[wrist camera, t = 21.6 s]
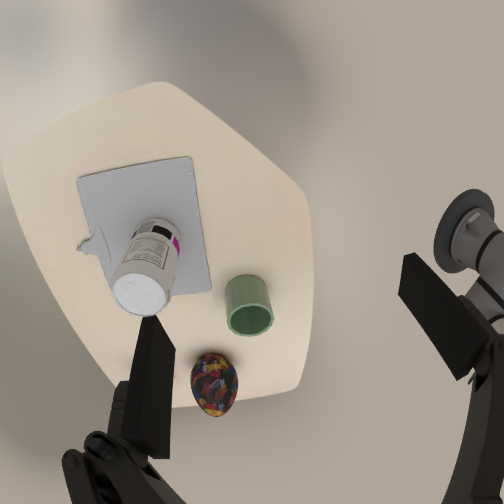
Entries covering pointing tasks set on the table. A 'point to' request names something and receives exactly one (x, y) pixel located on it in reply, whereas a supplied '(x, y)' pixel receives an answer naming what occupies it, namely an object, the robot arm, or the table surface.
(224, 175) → the table surface
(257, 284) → the plastic tub
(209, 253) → the table surface
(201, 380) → the egg
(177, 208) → the grey thin flat board
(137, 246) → the supplement can
